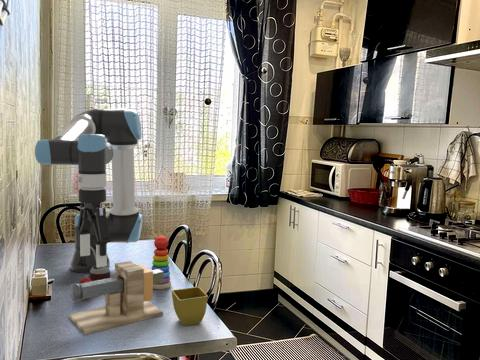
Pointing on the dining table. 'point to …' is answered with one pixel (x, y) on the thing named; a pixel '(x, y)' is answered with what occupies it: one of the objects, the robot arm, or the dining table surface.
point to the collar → (147, 283)
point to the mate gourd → (98, 271)
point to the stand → (119, 303)
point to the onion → (85, 280)
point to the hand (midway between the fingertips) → (93, 260)
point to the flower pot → (189, 305)
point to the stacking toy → (161, 261)
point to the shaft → (105, 286)
